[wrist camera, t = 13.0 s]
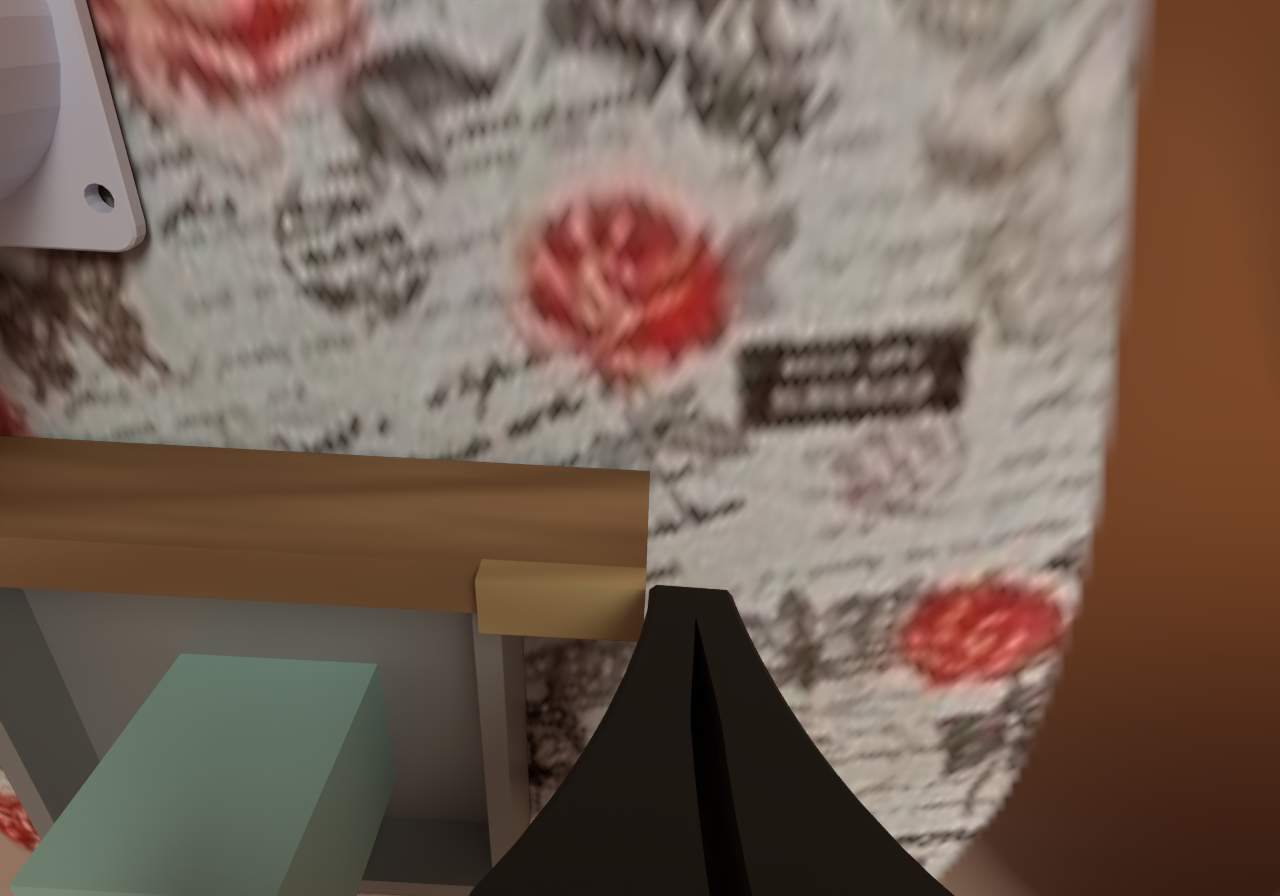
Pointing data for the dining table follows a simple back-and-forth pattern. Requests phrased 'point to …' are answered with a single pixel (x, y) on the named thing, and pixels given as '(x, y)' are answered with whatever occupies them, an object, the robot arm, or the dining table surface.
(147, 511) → the long wooden plank
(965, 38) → the dining table surface
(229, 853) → the block
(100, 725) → the grey open tray
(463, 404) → the dining table surface
